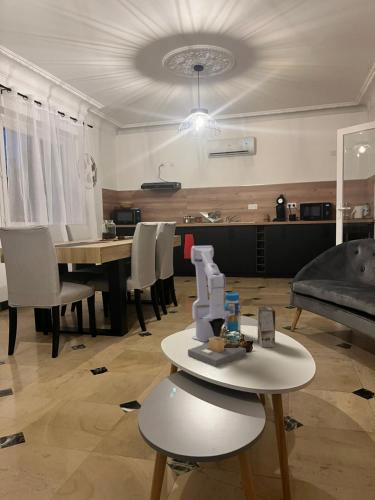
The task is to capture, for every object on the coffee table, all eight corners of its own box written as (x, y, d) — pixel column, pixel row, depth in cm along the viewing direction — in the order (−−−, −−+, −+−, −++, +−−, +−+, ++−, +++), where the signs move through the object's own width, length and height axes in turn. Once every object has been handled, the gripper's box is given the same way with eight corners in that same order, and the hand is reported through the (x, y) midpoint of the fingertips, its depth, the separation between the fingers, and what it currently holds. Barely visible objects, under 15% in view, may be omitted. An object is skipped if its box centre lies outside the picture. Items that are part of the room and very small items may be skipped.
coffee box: (275, 347, 157) (275, 311, 156) (260, 347, 157) (260, 311, 156) (271, 340, 166) (271, 306, 165) (257, 340, 167) (257, 306, 165)
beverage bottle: (220, 333, 178) (219, 293, 176) (232, 330, 183) (232, 291, 181) (232, 337, 171) (231, 296, 169) (244, 334, 176) (244, 293, 174)
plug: (215, 352, 152) (215, 335, 152) (224, 355, 149) (224, 338, 148) (209, 354, 150) (208, 337, 149) (217, 358, 146) (217, 340, 145)
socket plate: (217, 345, 161) (217, 337, 161) (245, 354, 149) (245, 346, 149) (188, 355, 149) (187, 347, 149) (216, 366, 137) (216, 358, 137)
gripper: (211, 308, 139) (211, 342, 141) (235, 302, 149) (235, 334, 150) (198, 305, 145) (199, 338, 146) (223, 299, 154) (223, 330, 155)
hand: (216, 336), depth 148 cm, fingers closed
